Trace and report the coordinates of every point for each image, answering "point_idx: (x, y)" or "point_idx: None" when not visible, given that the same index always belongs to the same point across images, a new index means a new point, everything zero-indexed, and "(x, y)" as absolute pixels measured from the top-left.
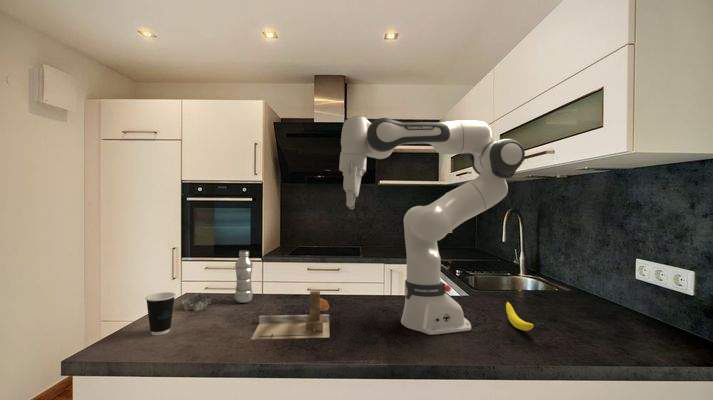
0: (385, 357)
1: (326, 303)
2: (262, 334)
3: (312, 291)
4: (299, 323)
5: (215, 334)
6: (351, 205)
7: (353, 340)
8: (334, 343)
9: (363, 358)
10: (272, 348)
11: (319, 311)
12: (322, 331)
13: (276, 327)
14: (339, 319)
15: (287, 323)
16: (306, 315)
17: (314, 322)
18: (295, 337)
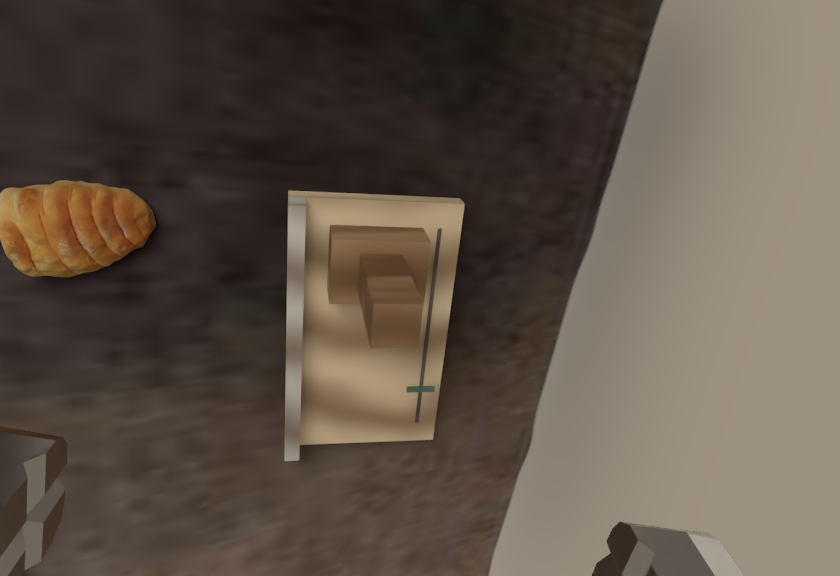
0: (618, 8)
1: (70, 203)
2: (400, 416)
3: (374, 338)
4: (312, 313)
5: (338, 532)
6: (707, 539)
7: (458, 104)
8: (469, 181)
9: (602, 93)
10: (466, 369)
11: (407, 270)
12: (424, 231)
13: (345, 386)
14: (216, 136)
15: (309, 355)
16: (295, 301)
17: (420, 273)
18: (444, 318)
